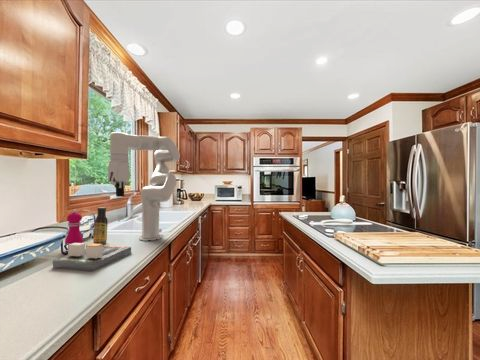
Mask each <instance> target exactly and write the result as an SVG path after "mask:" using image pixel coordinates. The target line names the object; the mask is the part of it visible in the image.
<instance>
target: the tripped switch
mask: <svg viewBox="0 0 480 360" xmlns="http://www.w3.org/2000/svg"><path fill="white" fill-rule="evenodd" d="M103 245H104V244H94V243H90V244H87V245H86V244H85V249H86V258H99V257H101V256H102V252H103Z"/></svg>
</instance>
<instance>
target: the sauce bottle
mask: <svg viewBox="0 0 480 360" xmlns="http://www.w3.org/2000/svg"><path fill="white" fill-rule="evenodd" d="M106 211H107V207H106V206H102V207H101V206H99V207H97V216H96V218H95V219H94V224H93V239H92V240H93V241H92V242H93V243H94V244H103V245H106V243H107V239H108V238H107V237H108V223H109V222H108V220H109V219H108V218H107V217H106V216H107V215H106Z"/></svg>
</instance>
